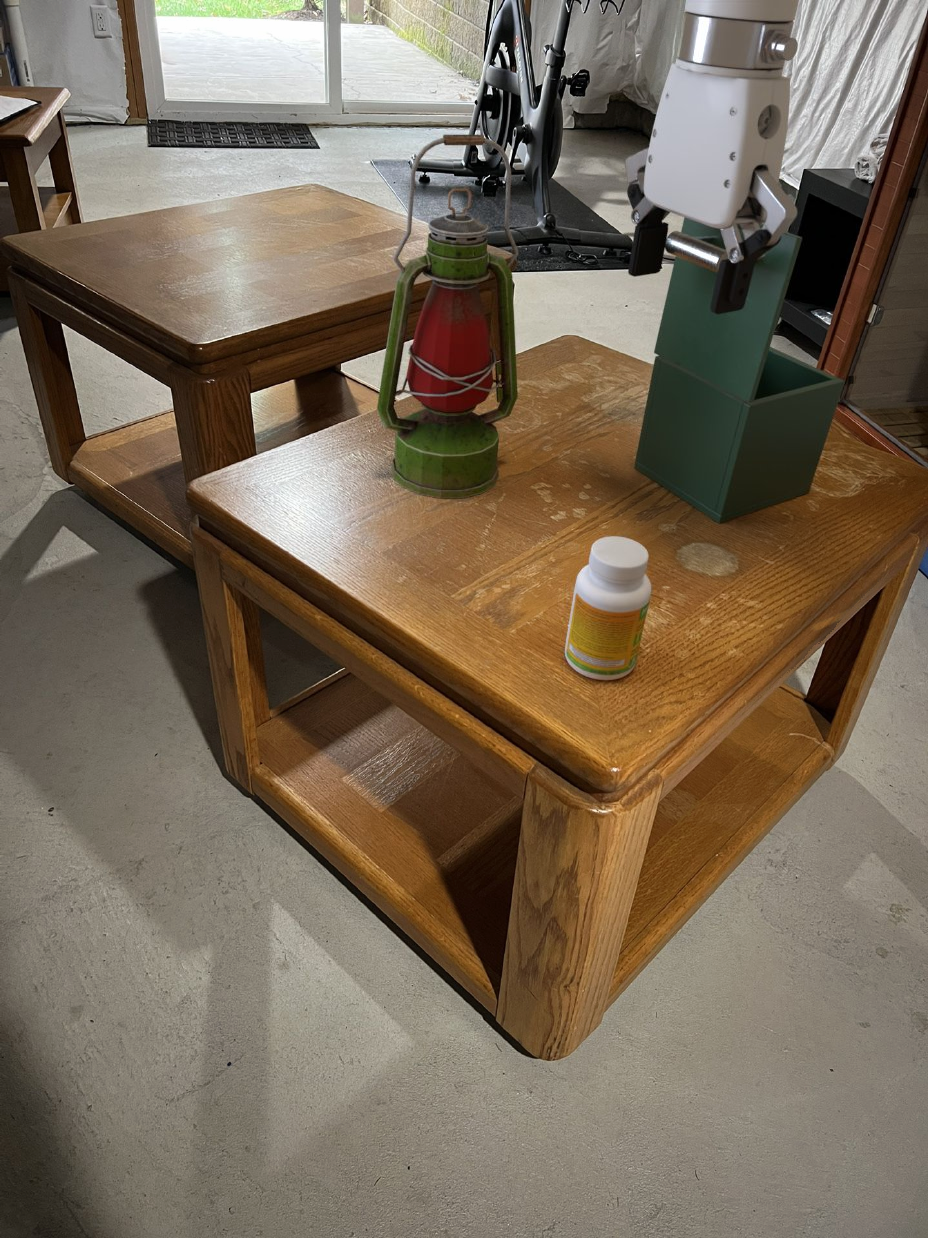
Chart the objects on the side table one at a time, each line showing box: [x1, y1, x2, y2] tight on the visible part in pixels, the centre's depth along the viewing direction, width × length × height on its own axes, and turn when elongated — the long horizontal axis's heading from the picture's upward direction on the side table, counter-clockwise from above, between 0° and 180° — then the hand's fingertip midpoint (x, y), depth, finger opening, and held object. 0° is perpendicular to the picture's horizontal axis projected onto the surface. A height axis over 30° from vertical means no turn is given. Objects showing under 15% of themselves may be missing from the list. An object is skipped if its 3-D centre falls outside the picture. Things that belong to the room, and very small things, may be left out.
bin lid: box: [653, 217, 803, 402], centre depth 79 cm, size 14×12×5 cm
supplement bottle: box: [564, 535, 652, 681], centre depth 67 cm, size 5×5×10 cm
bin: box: [633, 346, 846, 524], centre depth 90 cm, size 13×12×12 cm
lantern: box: [376, 134, 519, 499], centre depth 83 cm, size 14×11×30 cm
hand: (683, 291), depth 76 cm, fingers open, 9 cm apart
